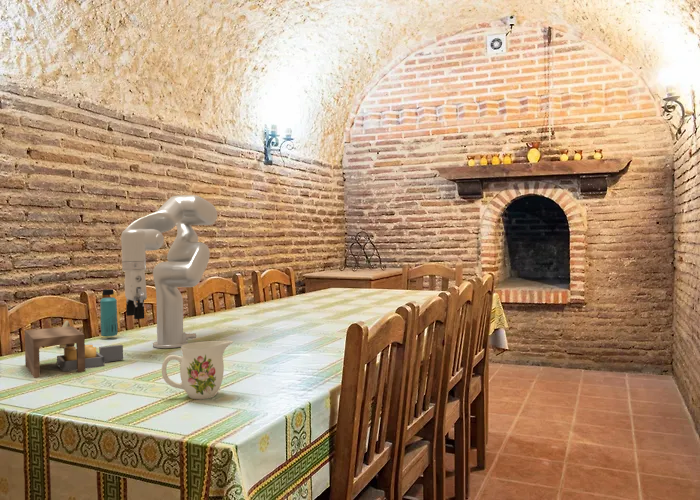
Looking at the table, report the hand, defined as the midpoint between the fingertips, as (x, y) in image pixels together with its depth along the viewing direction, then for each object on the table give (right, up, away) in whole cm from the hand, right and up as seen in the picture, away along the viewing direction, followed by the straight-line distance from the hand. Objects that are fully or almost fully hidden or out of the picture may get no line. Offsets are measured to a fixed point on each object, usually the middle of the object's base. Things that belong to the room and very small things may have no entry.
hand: (135, 317), depth 203 cm
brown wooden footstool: (-20, -15, -14) cm, 29 cm away
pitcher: (+33, -15, -47) cm, 60 cm away
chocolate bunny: (-34, -14, +24) cm, 44 cm away
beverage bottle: (-25, -13, +39) cm, 48 cm away
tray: (-11, -15, -8) cm, 20 cm away
